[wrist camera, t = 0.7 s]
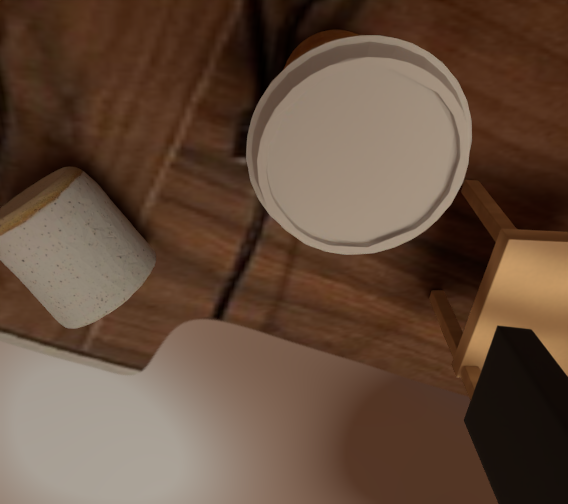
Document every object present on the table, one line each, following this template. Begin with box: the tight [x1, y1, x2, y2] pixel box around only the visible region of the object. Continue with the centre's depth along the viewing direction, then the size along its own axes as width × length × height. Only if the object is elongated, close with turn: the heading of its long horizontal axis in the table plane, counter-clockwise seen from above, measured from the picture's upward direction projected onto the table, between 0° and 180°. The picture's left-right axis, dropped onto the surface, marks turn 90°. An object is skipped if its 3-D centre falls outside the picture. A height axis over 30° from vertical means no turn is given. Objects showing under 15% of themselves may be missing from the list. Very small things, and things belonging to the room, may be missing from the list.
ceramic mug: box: [0, 167, 156, 328], centre depth 32 cm, size 11×8×8 cm
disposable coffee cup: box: [246, 30, 472, 255], centre depth 25 cm, size 10×10×12 cm
